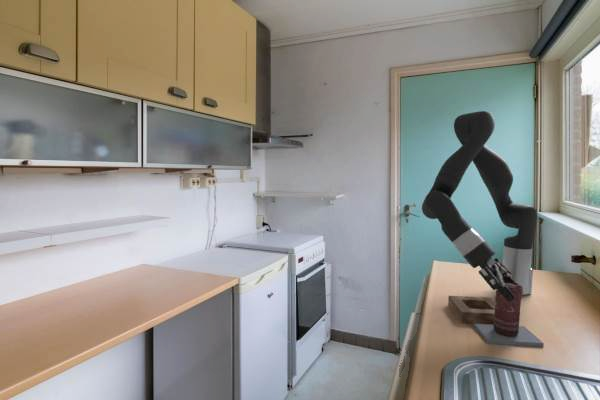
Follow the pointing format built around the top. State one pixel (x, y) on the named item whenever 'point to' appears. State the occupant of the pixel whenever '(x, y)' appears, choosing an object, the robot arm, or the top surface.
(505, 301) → the can
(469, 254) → the robot arm
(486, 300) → the box
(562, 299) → the top surface
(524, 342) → the mat
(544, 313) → the top surface
